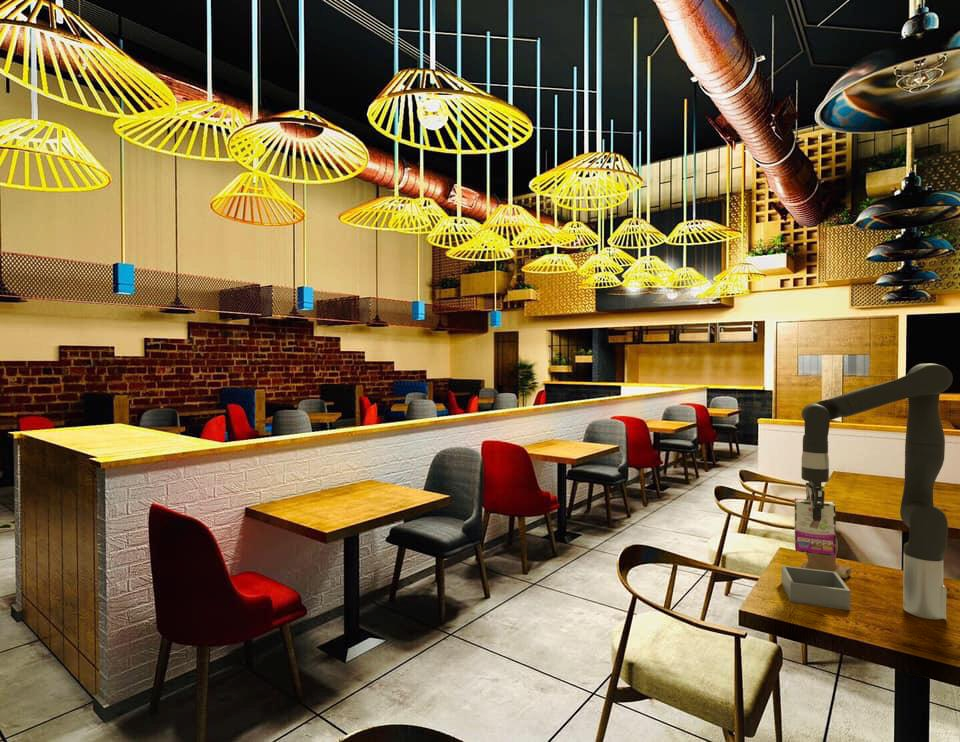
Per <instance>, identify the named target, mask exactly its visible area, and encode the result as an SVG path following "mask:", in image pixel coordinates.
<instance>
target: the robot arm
mask: <svg viewBox="0 0 960 742" xmlns="http://www.w3.org/2000/svg"><path fill="white" fill-rule="evenodd" d="M953 379H954V377H953V374H952V372H951V371H950V370H949V368H948V367H946V366H945V365H941V364H937V363H919V364H916V365H915V366H913V367H912V368H910V369H909V371H908V372H907V374H906V375H904V376H901V377H899V378H895V379H894V380H890V381H886V382H884V383H883V382H882V383H880V384H874V385H870V386H867V387H863V388H859V389H855V390H852V391H849V392H846V393H843V394H840V395H837V396H835V397H831V398H828V399H823V400H820V401H815V402H812V403H809V404H807V405H806V406H804V408H803V409H802V411H801V417H802V420H803V422H804V434H803V436H802V454H801V479H802V480H803V481H806V482H805V492H806V493H805V494H806V498H805V499H807V500H810V501H812V508H813V520H814V521H821V509H824V501H825V495H826V492H825V490H824V487H822V484H823V483H828V482H829V481H830V459H829V458H830V457H829V439H828V438H829V431H830V425H831V424H830V423H831V421H833V420H836V419H838V418H839V419H840V418H848V417H852V416H855V415H859V414H861V413H864V412H868V411H870V410H873V409H876V408H879V407H882V406H885V405H889V404H892V403H895V402H899V401H903V400H906V399H907V402H908V407H907V408H908V411H907V420H906V431H905V440H904V441H905V442H904V443H905V444H904V482H903V483H904V486H903V491H902V497H901V502H900V508H899V509H900V510H899V515H900V518H901V521H902V523H903V524H904V525H905V526H907V527H908V528H909V535H908V541H907V542H905V543H904V545H903V577H902V578H903V582H902V583H903V586H902V587H903V589H902V590H903V591H902V592H903V595H902V596H903V598H902V604H903V605H902V606H903V607H902V608H903V610H904V611H905V612H906V613H908V614H910V615H912V616H916V617H918V618H922V619H926V620H947V587H946V585H944V556H945V553H946V551H947V548H948V547H947V546H948V533H949V532H948V531H949V524H948V523H949V522H948V518H947V515H946V514H945V513H944V511H943V510H941V508H938V507H936V506H935V504H934V486H935V482H936V479H937V477H938V475H939V473H940V471H941V470H942V467H943V466H944V462H945V455H946V454H945V452H946V451H945V449H946V448H945V447H946V440H945V439H946V438H945V432H944V428H943V424H942V421H941V415H940V412H939V411H940V410H939V403H940V396H941V393H943V392H946V391H947V390H948V389H949V388H950V386H952V383H953ZM817 502H819V504H817Z"/></svg>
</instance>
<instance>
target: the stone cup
mask: <svg viewBox="0 0 960 742" xmlns="http://www.w3.org/2000/svg"><path fill="white" fill-rule="evenodd" d="M838 550H839V544H838V539H837V538H836V556H830V555H822V554H814V553H807V552H805V554H806V557H807V561H803V562H802V563H801V565H800V568H807V569H815V570H824V571H832V572H837V574H838V575H839V576H840V578H841V579H848V577H850V574H851V573H852V570H853V569H852V567H851V566H846V565H840V564H837V562H836V560H837V555H838Z"/></svg>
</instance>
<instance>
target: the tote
mask: <svg viewBox="0 0 960 742" xmlns="http://www.w3.org/2000/svg"><path fill="white" fill-rule="evenodd" d="M781 585H782V587H783V589H784V591H785V594H786V596H787V598H788V601H789V602H790V603H793V604H795V603H796V604H801V605H809V606H816V607H823V608H828V609H836V610H837V609H838V610H844V611H851V590H850V587H849V586H847V585H846V583H845V582H844V580H843V578H840V576H839V575H838V574H837V572H832V571H824V570H815V569H807V568H801V567H796V566H789V565H781Z"/></svg>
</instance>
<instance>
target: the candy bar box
mask: <svg viewBox="0 0 960 742" xmlns="http://www.w3.org/2000/svg"><path fill="white" fill-rule="evenodd" d="M817 504H819V502H817ZM836 532H837V531H836V504H835V502H834V501H827V500H824V509H821V521H814V520H813V508H812V501H810V500H807V499H806V498H794V550H795V552H801V553H806V552H807V553H814V554H822V555H830V556H836V557H837V555H836V539H837V537H836V536H837V535H836Z"/></svg>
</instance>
